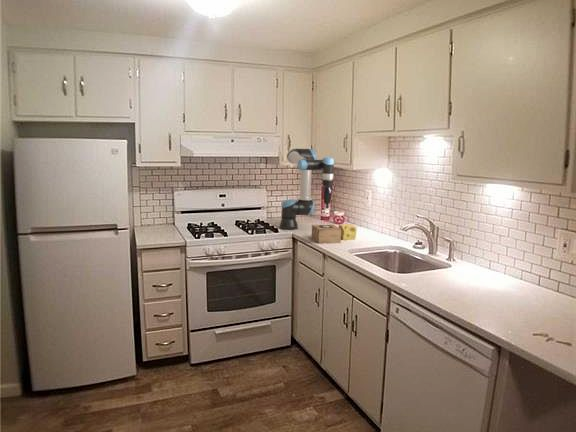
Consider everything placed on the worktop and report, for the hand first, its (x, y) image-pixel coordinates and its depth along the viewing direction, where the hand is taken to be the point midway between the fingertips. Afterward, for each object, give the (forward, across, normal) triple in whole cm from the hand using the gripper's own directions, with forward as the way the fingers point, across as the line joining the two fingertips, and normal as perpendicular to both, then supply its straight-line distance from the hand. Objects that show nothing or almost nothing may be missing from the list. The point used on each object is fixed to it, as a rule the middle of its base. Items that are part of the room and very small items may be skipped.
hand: (326, 212), depth 301 cm
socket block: (+20, 0, 0) cm, 20 cm away
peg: (+20, 0, 0) cm, 20 cm away
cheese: (+21, -5, +18) cm, 28 cm away
